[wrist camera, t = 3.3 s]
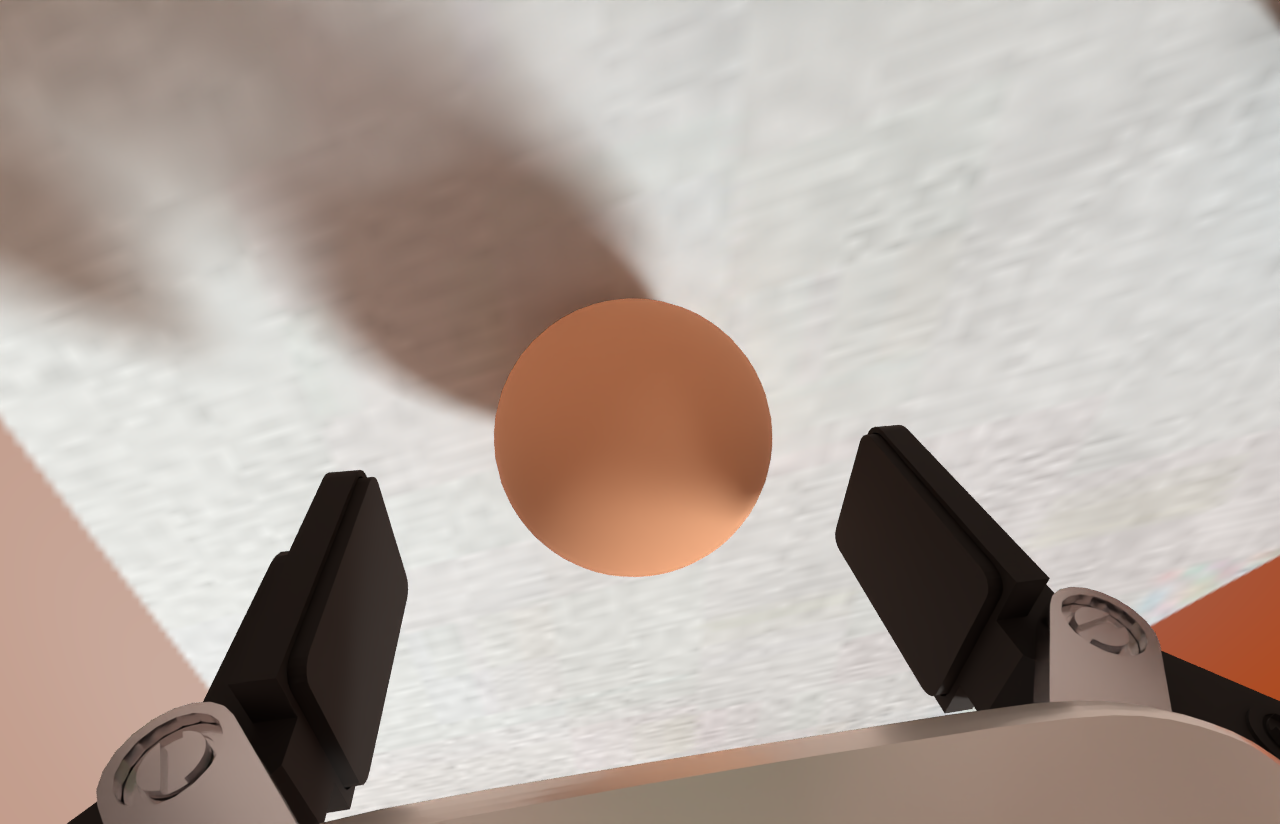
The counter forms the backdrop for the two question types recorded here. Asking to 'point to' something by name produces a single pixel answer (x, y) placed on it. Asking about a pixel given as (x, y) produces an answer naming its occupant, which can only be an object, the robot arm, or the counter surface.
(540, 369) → the ball
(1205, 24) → the counter surface
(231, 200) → the counter surface
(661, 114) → the counter surface
